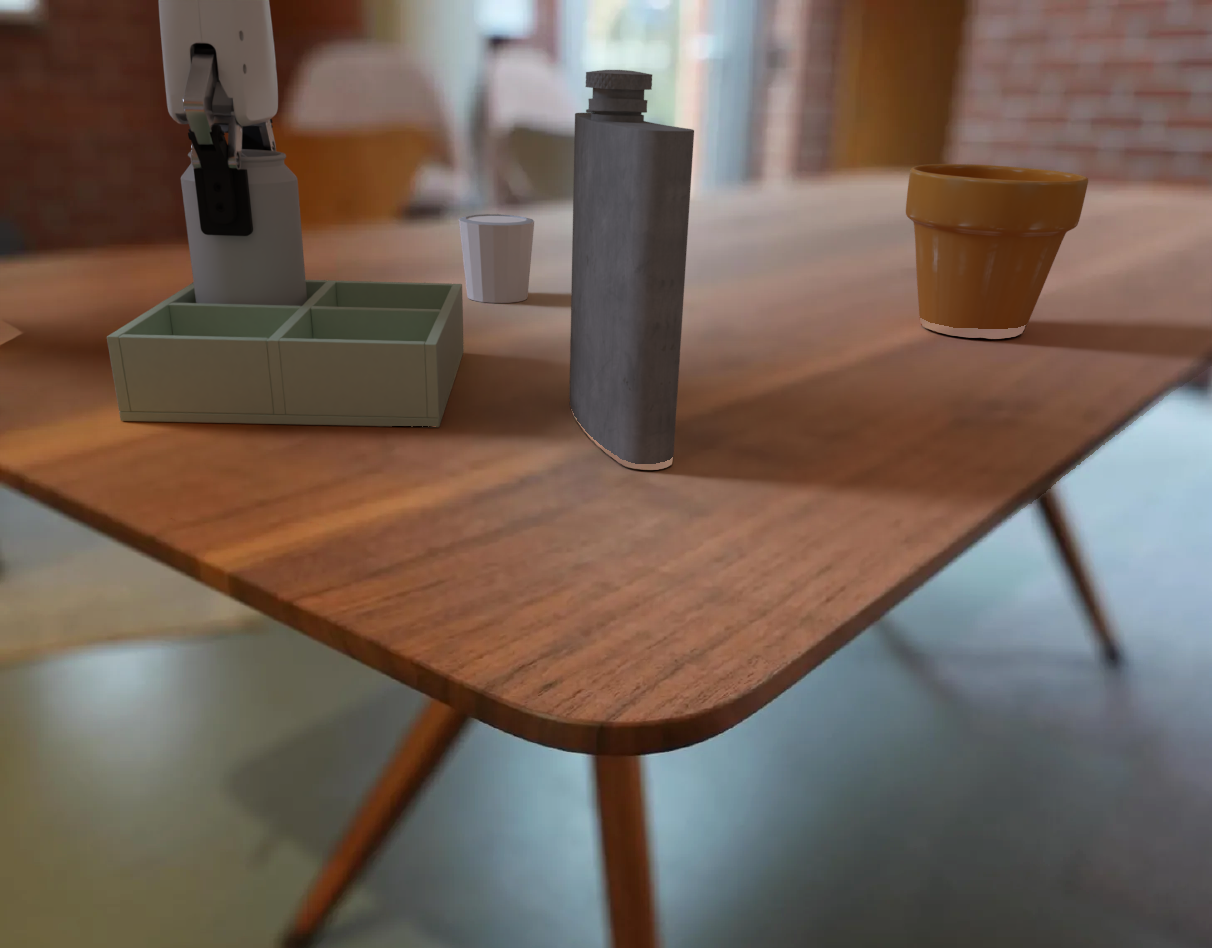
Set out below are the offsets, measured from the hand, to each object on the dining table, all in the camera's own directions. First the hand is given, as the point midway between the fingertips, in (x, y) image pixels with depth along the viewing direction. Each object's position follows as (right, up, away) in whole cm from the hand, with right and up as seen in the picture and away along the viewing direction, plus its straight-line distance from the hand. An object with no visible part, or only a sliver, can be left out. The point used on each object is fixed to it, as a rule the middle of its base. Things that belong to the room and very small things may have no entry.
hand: (243, 224), depth 76 cm
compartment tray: (+5, -11, 0) cm, 12 cm away
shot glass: (+14, +3, +29) cm, 32 cm away
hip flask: (+25, -15, -7) cm, 30 cm away
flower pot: (+57, -2, +23) cm, 61 cm away
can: (0, -7, +3) cm, 8 cm away
